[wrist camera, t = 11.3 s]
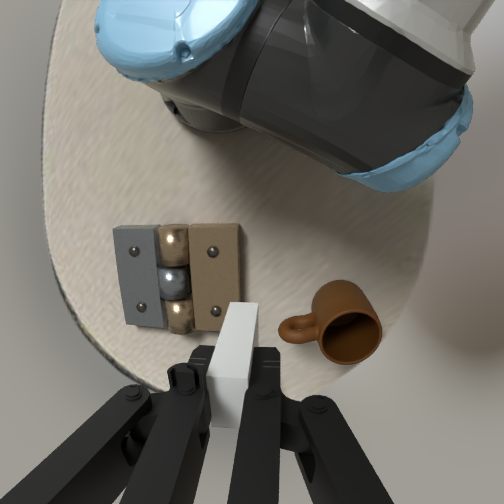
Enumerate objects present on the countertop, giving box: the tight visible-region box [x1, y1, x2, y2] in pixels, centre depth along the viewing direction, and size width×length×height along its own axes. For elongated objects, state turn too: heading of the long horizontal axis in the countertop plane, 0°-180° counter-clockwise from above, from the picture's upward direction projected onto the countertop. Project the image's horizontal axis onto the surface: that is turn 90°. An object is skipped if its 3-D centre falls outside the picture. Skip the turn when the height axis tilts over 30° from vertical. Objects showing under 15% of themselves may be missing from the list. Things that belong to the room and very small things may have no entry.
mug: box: [278, 280, 382, 365], centre depth 38 cm, size 12×8×9 cm, turn 93°
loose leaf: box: [113, 225, 190, 328], centre depth 42 cm, size 14×10×4 cm
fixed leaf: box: [158, 224, 241, 335], centre depth 41 cm, size 14×10×4 cm
